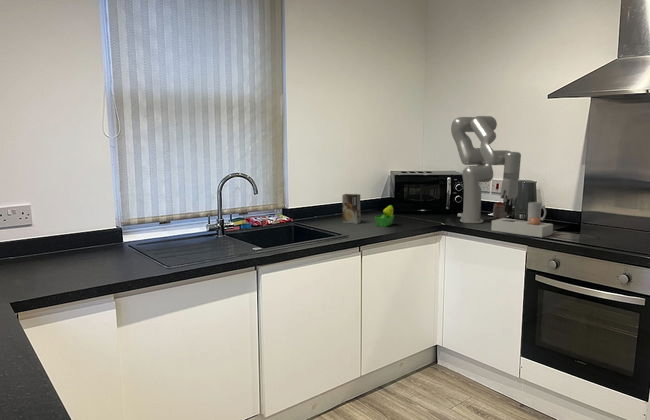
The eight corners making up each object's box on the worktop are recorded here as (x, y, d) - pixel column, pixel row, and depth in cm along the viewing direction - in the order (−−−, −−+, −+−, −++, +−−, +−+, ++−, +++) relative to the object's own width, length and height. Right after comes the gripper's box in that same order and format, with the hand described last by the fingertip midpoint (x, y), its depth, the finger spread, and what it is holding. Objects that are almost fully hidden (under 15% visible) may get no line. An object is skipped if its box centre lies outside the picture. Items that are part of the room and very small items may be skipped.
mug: (524, 224, 270) (525, 202, 268) (531, 223, 274) (532, 201, 272) (541, 226, 262) (543, 204, 260) (548, 225, 266) (549, 203, 264)
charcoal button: (502, 230, 253) (502, 220, 252) (506, 228, 256) (507, 219, 255) (511, 231, 249) (511, 222, 248) (516, 230, 252) (516, 220, 252)
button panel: (491, 230, 253) (491, 220, 252) (502, 227, 261) (503, 218, 260) (541, 237, 234) (542, 227, 233) (552, 234, 242) (553, 224, 242)
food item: (508, 220, 283) (509, 203, 282) (493, 220, 284) (494, 203, 283) (504, 216, 296) (505, 200, 295) (490, 216, 298) (491, 200, 296)
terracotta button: (527, 227, 243) (527, 217, 242) (531, 226, 246) (532, 216, 245) (537, 228, 239) (537, 219, 238) (541, 227, 242) (542, 217, 242)
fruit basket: (381, 223, 277) (381, 203, 275) (396, 224, 273) (396, 204, 271) (373, 226, 267) (374, 205, 266) (389, 227, 263) (389, 206, 261)
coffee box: (361, 222, 280) (361, 194, 278) (357, 224, 275) (357, 195, 272) (345, 221, 284) (345, 193, 282) (342, 223, 278) (342, 194, 276)
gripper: (511, 174, 256) (508, 209, 260) (496, 176, 246) (494, 212, 250) (525, 176, 251) (522, 211, 254) (511, 178, 241) (508, 215, 244)
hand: (508, 212), depth 252 cm, fingers closed
